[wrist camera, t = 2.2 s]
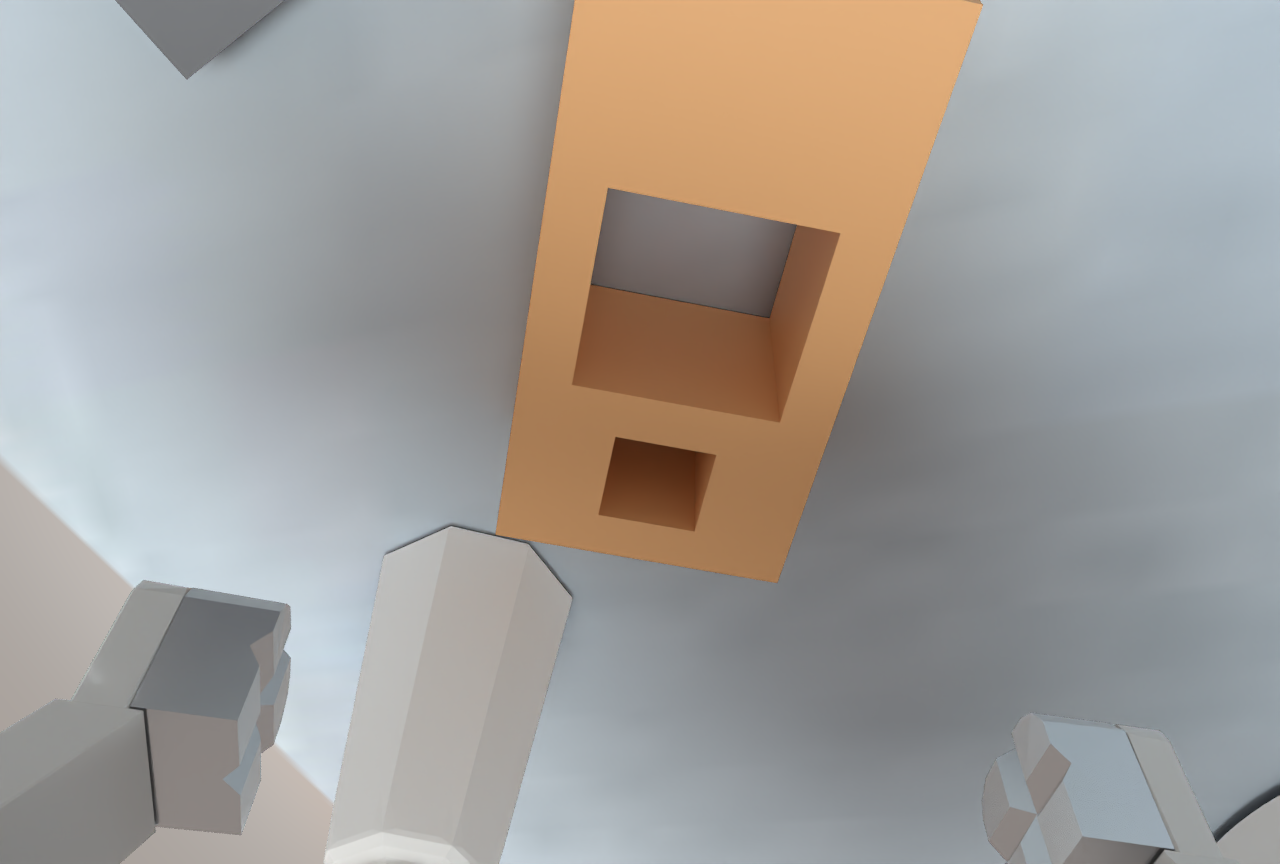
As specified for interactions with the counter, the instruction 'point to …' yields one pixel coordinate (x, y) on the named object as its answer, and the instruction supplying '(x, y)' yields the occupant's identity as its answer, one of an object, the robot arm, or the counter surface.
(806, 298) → the orange block with recesses
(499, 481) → the counter surface
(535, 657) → the pepper shaker
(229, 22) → the base plate
